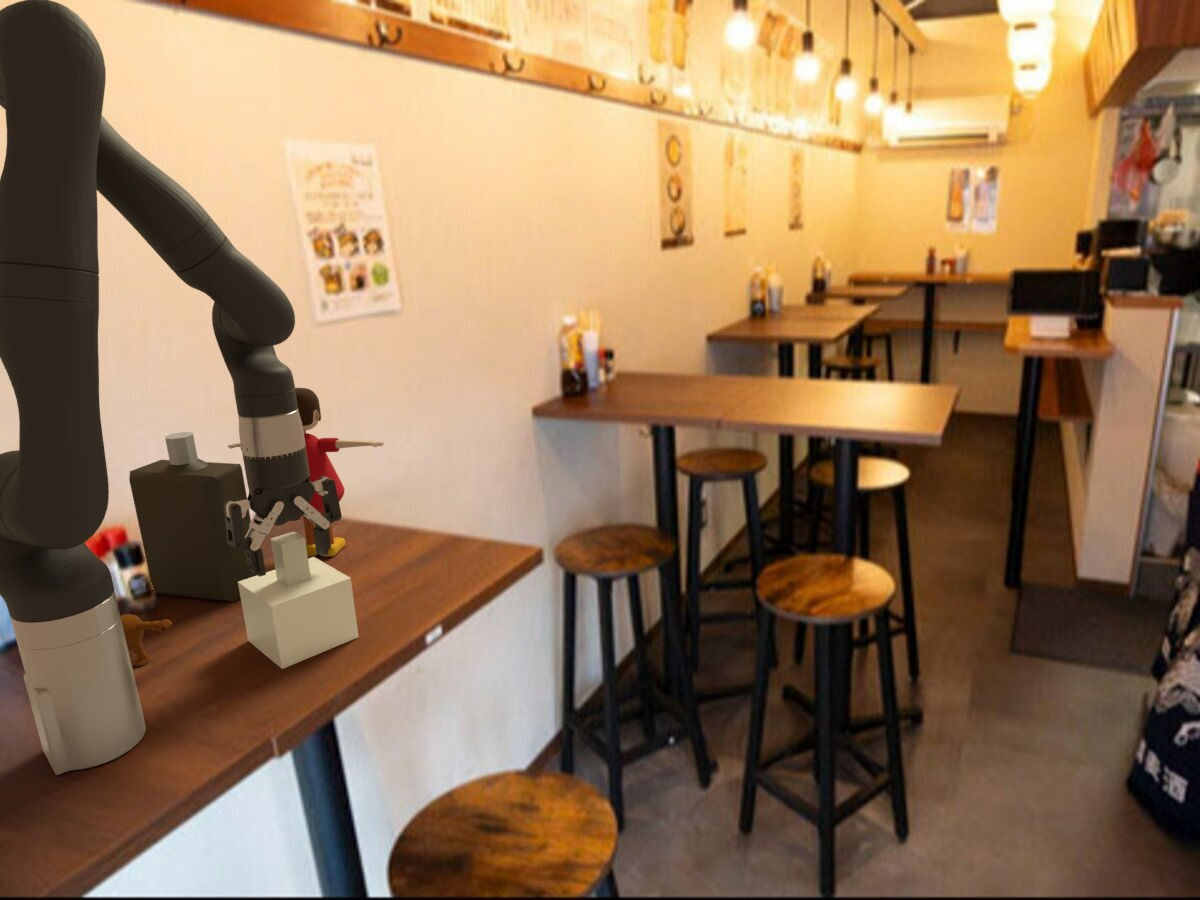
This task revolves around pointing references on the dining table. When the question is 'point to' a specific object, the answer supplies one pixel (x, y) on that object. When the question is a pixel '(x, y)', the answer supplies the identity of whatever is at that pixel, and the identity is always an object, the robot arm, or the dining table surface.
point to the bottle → (190, 523)
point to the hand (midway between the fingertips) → (292, 563)
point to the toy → (320, 463)
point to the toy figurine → (140, 635)
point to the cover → (297, 605)
